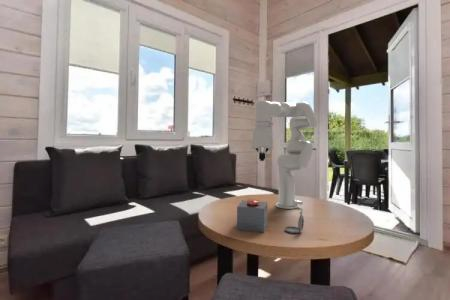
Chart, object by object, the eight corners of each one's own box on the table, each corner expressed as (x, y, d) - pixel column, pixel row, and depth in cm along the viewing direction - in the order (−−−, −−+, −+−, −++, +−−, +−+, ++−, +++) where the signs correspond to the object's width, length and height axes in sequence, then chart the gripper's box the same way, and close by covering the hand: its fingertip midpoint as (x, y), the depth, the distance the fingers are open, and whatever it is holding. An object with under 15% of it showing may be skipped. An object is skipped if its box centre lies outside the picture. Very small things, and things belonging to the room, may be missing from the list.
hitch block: (267, 223, 119) (267, 202, 119) (264, 232, 108) (264, 208, 107) (242, 221, 123) (242, 200, 122) (236, 229, 111) (237, 206, 111)
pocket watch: (282, 228, 113) (283, 206, 113) (301, 228, 114) (301, 206, 113) (289, 235, 105) (289, 211, 104) (308, 235, 105) (309, 211, 105)
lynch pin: (259, 224, 117) (259, 199, 117) (257, 228, 112) (258, 202, 111) (247, 223, 119) (247, 199, 118) (245, 227, 113) (245, 201, 113)
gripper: (277, 125, 131) (277, 160, 131) (249, 125, 135) (249, 159, 135) (276, 124, 124) (276, 161, 124) (246, 125, 127) (246, 161, 128)
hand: (262, 160), depth 130 cm, fingers closed
